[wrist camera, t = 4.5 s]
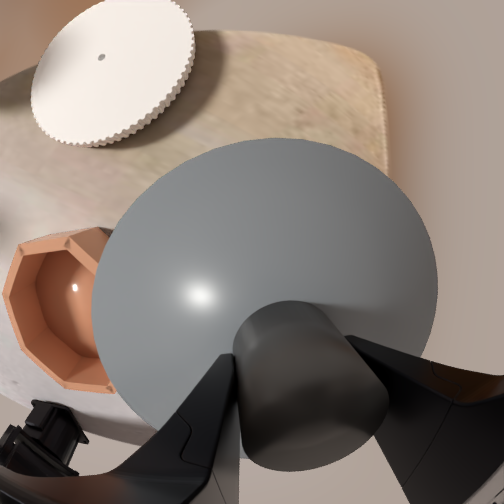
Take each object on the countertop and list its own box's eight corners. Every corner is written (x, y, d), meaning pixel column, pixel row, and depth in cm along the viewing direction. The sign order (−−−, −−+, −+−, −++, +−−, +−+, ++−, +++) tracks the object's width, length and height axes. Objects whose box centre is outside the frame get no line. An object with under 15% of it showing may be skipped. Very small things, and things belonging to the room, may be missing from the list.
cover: (397, 412, 12) (438, 466, 7) (152, 451, 11) (140, 523, 6) (429, 151, 9) (521, 144, 4) (73, 169, 8) (-24, 161, 3)
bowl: (165, 362, 21) (156, 395, 17) (57, 358, 20) (36, 383, 16) (138, 221, 19) (116, 229, 14) (23, 239, 18) (-8, 249, 13)
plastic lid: (39, 162, 17) (22, 160, 14) (61, 30, 14) (50, 20, 11) (194, 137, 18) (190, 130, 16) (200, -1, 15) (199, -18, 13)
